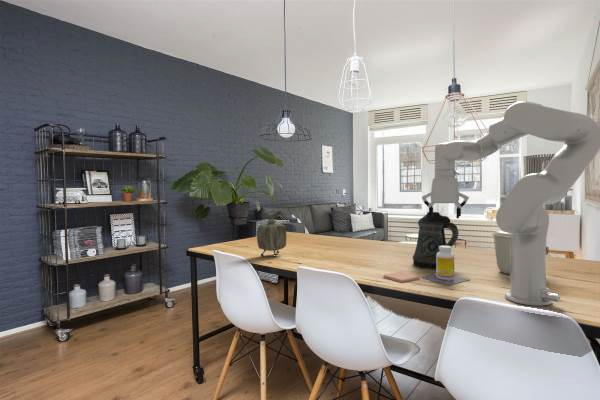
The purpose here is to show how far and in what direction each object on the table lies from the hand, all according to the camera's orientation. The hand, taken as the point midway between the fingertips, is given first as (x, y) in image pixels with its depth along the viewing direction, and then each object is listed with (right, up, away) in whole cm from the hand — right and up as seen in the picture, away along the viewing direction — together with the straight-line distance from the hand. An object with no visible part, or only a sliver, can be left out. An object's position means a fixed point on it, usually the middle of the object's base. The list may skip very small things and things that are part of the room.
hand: (444, 217), depth 139 cm
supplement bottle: (0, -25, +1) cm, 25 cm away
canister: (+34, -24, +8) cm, 42 cm away
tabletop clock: (-73, -24, +54) cm, 94 cm away
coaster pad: (-16, -25, +3) cm, 30 cm away
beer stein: (+5, -24, +25) cm, 35 cm away
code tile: (0, -25, +1) cm, 25 cm away
